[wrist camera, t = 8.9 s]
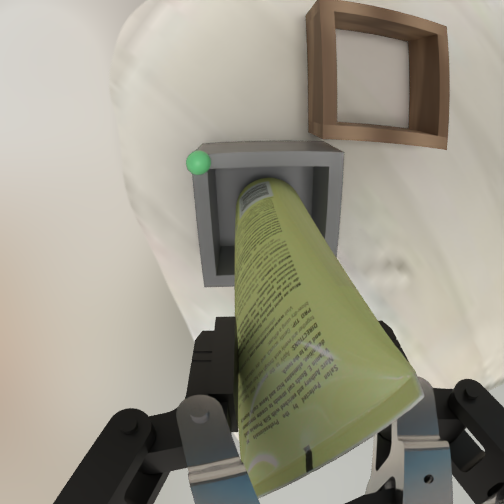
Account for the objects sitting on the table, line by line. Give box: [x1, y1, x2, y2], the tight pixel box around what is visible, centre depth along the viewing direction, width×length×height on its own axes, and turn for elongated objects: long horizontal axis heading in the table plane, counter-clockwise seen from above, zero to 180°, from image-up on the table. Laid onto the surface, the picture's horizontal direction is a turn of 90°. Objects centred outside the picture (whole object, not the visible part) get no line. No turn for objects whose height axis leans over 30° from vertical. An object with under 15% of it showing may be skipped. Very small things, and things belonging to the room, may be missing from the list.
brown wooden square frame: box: [306, 0, 449, 150], centre depth 20 cm, size 10×10×5 cm
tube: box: [235, 178, 424, 499], centre depth 15 cm, size 6×5×20 cm
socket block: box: [186, 141, 344, 287], centre depth 23 cm, size 10×10×7 cm
